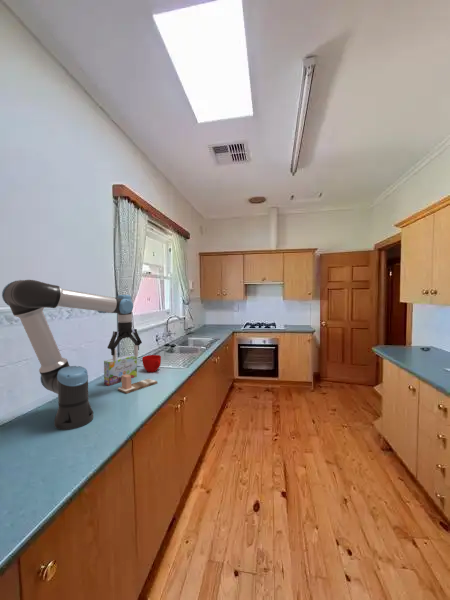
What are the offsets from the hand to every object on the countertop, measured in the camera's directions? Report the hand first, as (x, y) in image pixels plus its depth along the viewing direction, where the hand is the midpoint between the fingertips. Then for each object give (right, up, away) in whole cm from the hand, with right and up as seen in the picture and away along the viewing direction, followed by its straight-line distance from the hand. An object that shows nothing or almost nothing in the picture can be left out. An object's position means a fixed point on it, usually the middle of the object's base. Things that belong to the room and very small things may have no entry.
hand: (125, 358), depth 156 cm
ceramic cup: (+6, -18, +37) cm, 42 cm away
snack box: (-10, -19, +19) cm, 28 cm away
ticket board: (+5, -18, +7) cm, 20 cm away
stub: (0, -17, +1) cm, 17 cm away
